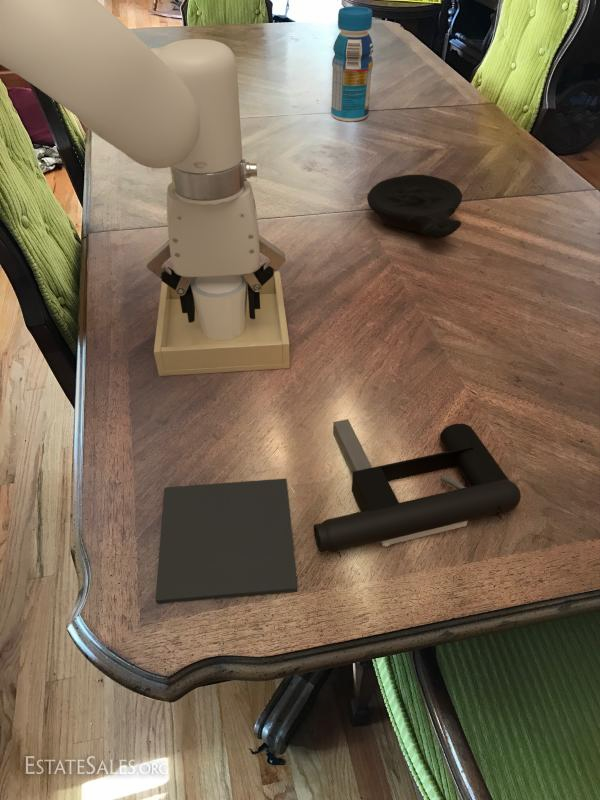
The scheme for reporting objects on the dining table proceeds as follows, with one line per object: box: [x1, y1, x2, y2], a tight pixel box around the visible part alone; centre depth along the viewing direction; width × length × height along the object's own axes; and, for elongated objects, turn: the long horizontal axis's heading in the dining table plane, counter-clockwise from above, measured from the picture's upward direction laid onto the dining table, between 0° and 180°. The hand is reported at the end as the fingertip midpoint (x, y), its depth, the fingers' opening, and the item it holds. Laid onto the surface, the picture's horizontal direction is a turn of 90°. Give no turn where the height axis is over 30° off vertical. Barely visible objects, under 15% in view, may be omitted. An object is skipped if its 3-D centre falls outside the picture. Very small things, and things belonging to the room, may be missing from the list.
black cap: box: [366, 174, 463, 240], centre depth 97 cm, size 15×20×5 cm
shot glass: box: [190, 275, 247, 341], centre depth 76 cm, size 7×7×7 cm
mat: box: [155, 478, 298, 604], centre depth 57 cm, size 12×12×1 cm
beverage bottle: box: [330, 5, 374, 122], centre depth 128 cm, size 8×8×20 cm
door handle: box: [313, 418, 522, 558], centre depth 61 cm, size 3×20×16 cm
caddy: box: [153, 270, 291, 377], centre depth 78 cm, size 16×16×4 cm
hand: (222, 313), depth 77 cm, fingers closed on shot glass, 6 cm apart
